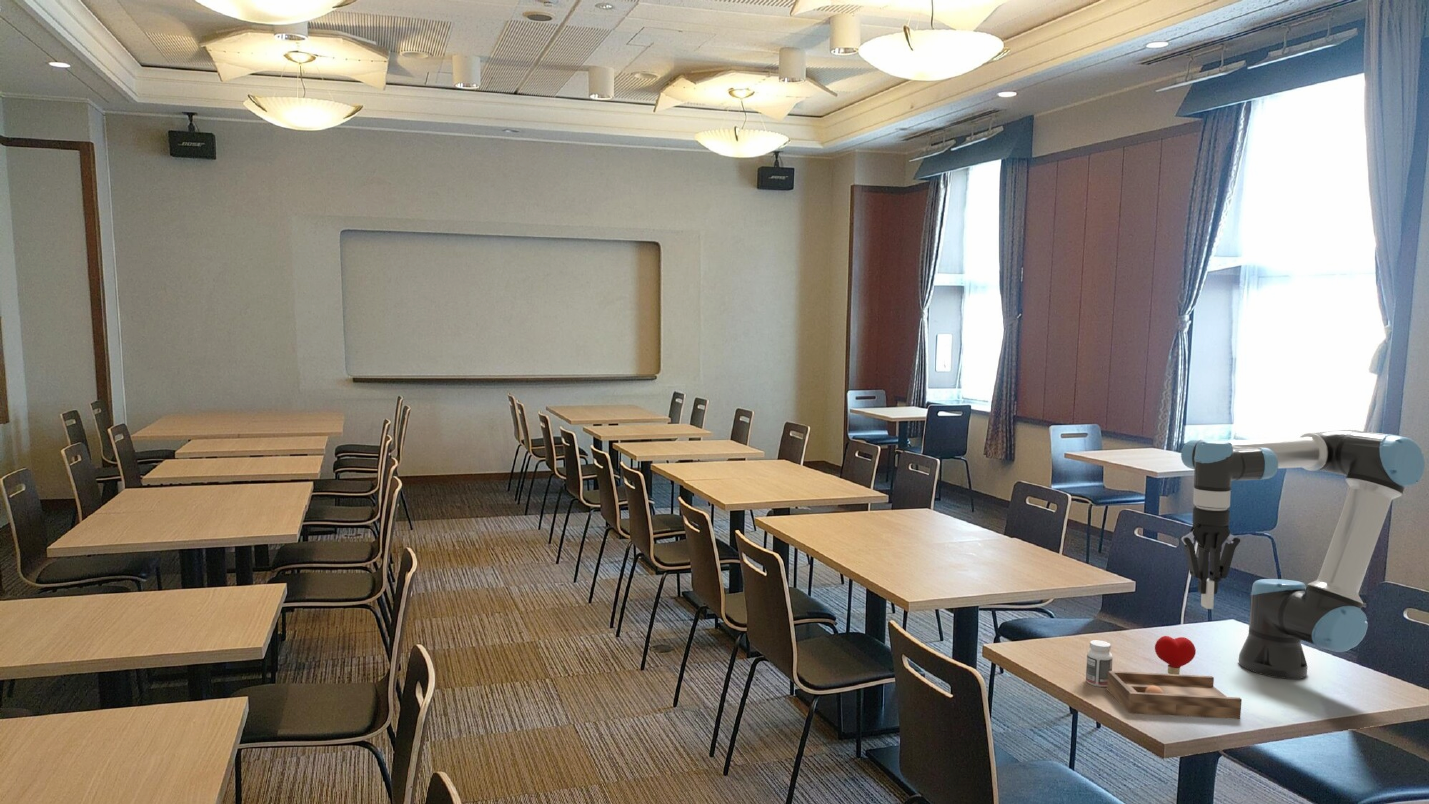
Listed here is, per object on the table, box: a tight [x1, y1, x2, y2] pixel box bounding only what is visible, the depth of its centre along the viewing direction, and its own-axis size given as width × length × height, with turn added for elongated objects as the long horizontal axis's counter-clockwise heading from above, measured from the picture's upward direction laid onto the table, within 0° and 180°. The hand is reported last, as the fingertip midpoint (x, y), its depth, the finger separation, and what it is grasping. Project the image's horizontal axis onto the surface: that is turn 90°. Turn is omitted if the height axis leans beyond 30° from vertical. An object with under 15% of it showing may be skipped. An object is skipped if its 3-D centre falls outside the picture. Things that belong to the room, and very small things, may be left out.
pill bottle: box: [1085, 639, 1113, 688], centre depth 224 cm, size 6×6×10 cm
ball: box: [1145, 686, 1164, 694], centre depth 213 cm, size 4×4×4 cm
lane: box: [1106, 670, 1242, 720], centre depth 213 cm, size 24×14×4 cm, turn 86°
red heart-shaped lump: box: [1154, 635, 1197, 675], centre depth 230 cm, size 9×7×10 cm
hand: (1206, 607), depth 215 cm, fingers closed
